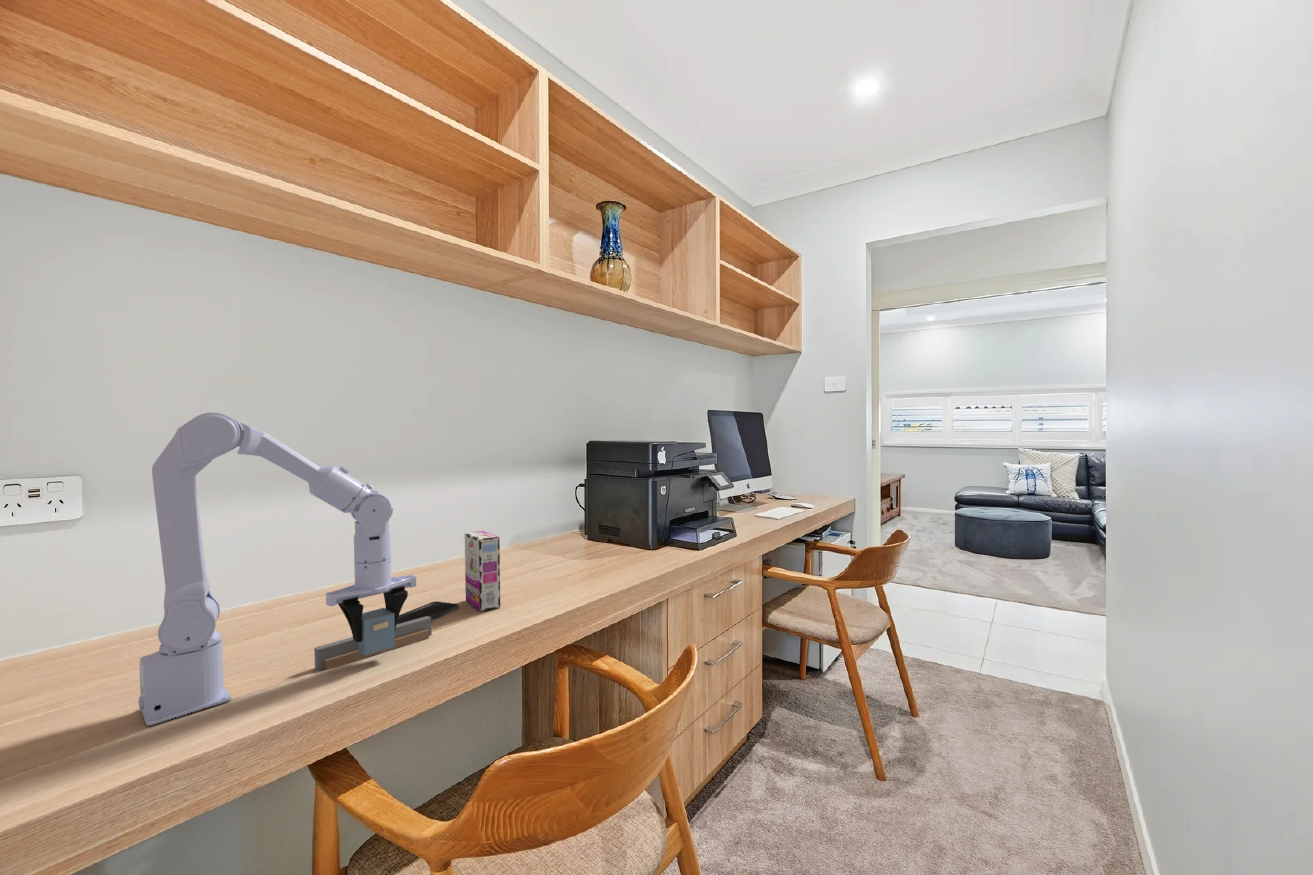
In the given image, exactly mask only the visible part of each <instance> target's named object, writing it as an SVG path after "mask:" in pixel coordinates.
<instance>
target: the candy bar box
mask: <svg viewBox="0 0 1313 875" xmlns="http://www.w3.org/2000/svg"><path fill="white" fill-rule="evenodd" d="M500 545H501V544H500V536H498V535H495V534H493V533H490V532H487V531H484V530H480V531H471V532H464V573H465V574H464V575H465V578H464V580H465V584H464V585H465V587H464V588H465V601H466V602H467V603H468V604H470V605H471V606H473V607H474V608H476V609H477V610H478V611H479V612H486V611H491V610H496V609H500V608H501V571H500V570H501V565H500V564H501V562H500V561H501V556H500V555H501V554H500V552H501V551H500V550H501V548H500Z"/></svg>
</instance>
